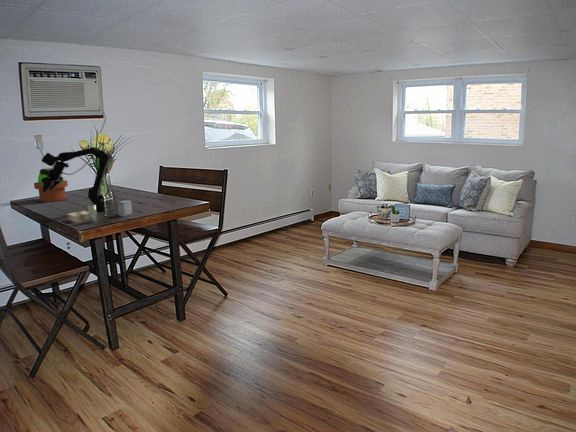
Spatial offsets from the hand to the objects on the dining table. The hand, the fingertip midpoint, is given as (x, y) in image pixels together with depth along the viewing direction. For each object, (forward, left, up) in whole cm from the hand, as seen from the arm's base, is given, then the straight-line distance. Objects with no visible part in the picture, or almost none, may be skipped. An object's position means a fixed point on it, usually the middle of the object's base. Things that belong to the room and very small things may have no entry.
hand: (46, 190), depth 281 cm
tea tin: (-20, +44, -15) cm, 51 cm away
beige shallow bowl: (-14, +33, -15) cm, 39 cm away
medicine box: (-40, +36, -15) cm, 56 cm away
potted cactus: (-6, -53, -15) cm, 55 cm away
